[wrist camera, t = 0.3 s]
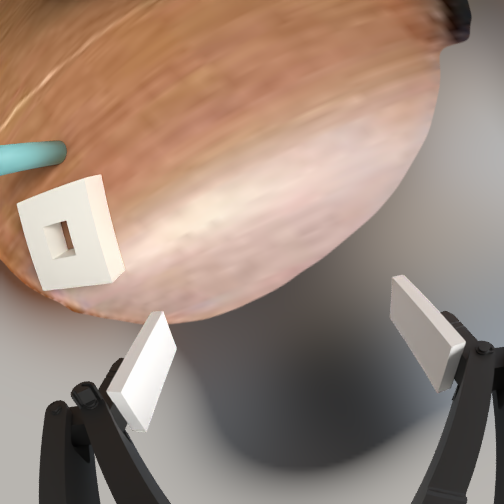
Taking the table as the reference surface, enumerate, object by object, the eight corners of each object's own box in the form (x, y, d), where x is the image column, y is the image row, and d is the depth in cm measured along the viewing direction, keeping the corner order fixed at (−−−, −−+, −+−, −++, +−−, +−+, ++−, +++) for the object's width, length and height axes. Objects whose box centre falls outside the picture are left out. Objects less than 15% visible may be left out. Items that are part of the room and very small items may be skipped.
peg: (48, 145, 38) (-20, 153, 23) (64, 137, 38) (-4, 142, 23) (51, 167, 39) (-16, 181, 24) (68, 160, 39) (0, 172, 24)
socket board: (34, 197, 41) (16, 203, 36) (101, 174, 40) (84, 178, 35) (57, 279, 46) (43, 290, 42) (125, 269, 45) (112, 282, 41)
